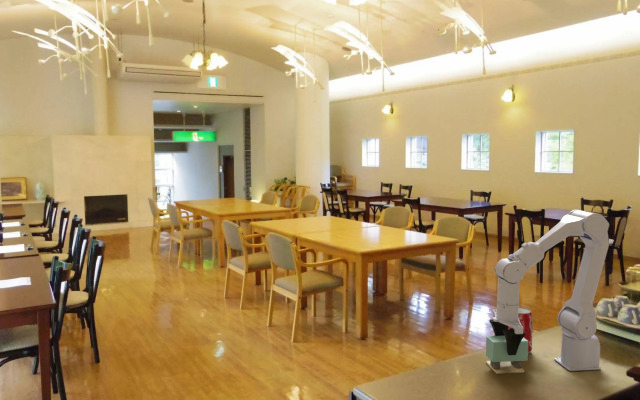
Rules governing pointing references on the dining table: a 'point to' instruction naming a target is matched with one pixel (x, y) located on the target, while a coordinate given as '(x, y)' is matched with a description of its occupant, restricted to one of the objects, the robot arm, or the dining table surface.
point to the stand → (505, 366)
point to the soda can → (526, 325)
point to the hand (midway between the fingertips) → (506, 349)
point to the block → (504, 350)
